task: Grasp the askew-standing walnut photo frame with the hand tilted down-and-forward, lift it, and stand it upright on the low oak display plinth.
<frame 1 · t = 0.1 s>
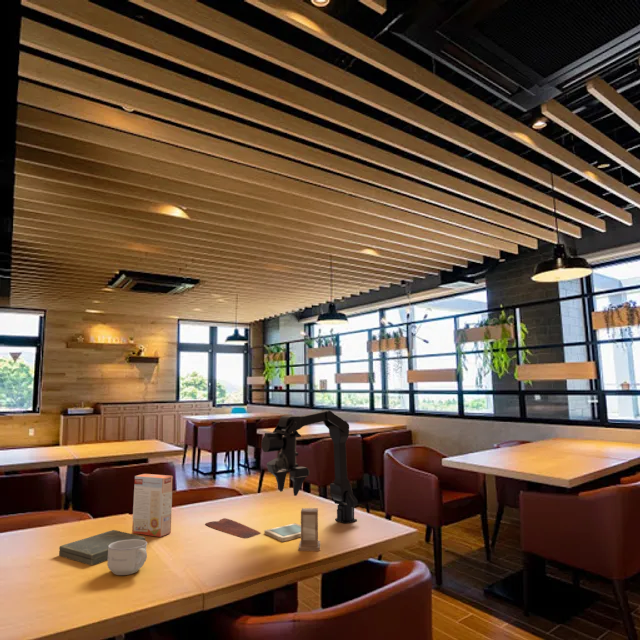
hand: (288, 493, 172), 15 cm above the table, tool pointing down, fingers open, 9 cm apart
wooden tablet: (233, 531, 178), on the table
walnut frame: (309, 547, 157), on the table
oak plinth: (289, 533, 172), on the table
cracker box: (151, 533, 174), on the table
teacup: (128, 573, 137), on the table
case: (103, 553, 156), on the table
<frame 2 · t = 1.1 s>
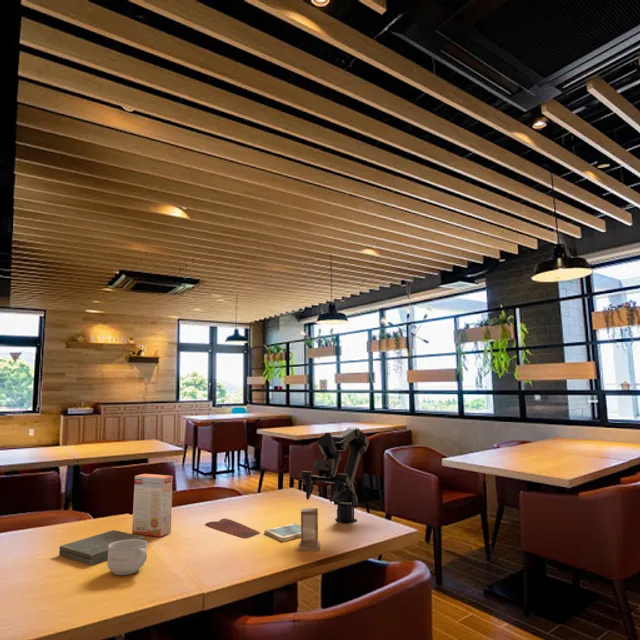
hand: (318, 500, 166), 13 cm above the table, tool tilted 45°, fingers open, 9 cm apart
nothing on the table moved.
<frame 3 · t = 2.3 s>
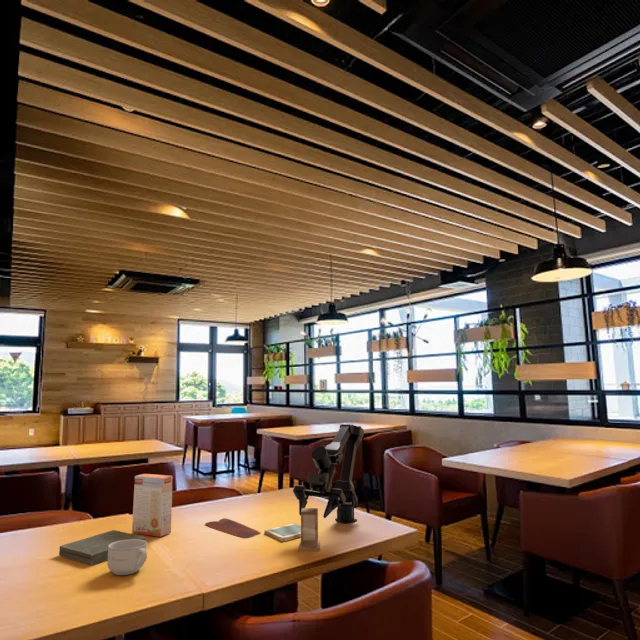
hand: (312, 516, 160), 9 cm above the table, tool tilted 45°, fingers open, 9 cm apart
nothing on the table moved.
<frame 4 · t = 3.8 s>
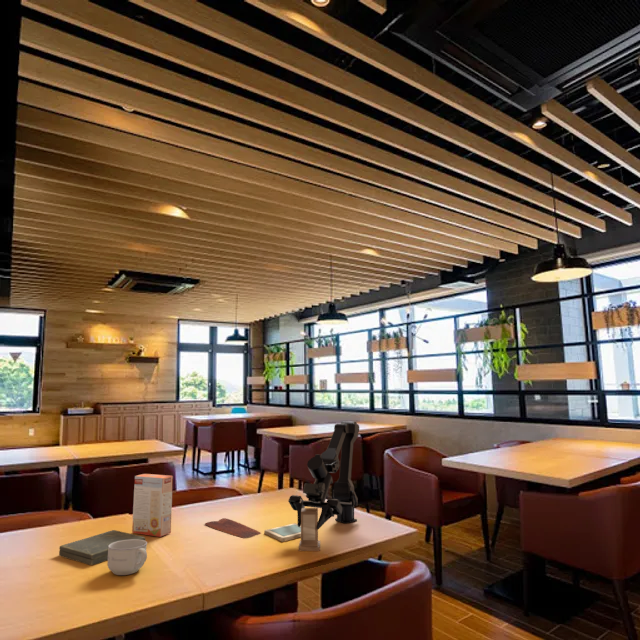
hand: (307, 527, 157), 7 cm above the table, tool tilted 45°, fingers closed on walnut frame, 7 cm apart
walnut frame: (309, 547, 157), on the table, touching gripper
everything else where it was.
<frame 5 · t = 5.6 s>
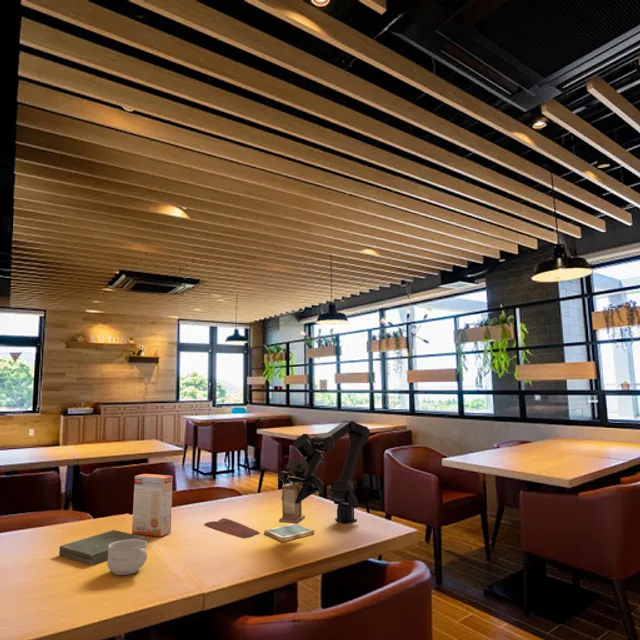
hand: (289, 501, 166), 13 cm above the table, tool tilted 45°, fingers closed on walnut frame, 7 cm apart
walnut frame: (292, 520, 166), point 7 cm above the table, touching gripper
everything else where it was.
when the fingers open (8 cm above the table, at t = 7.7 s): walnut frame stays where it is, resting on oak plinth.
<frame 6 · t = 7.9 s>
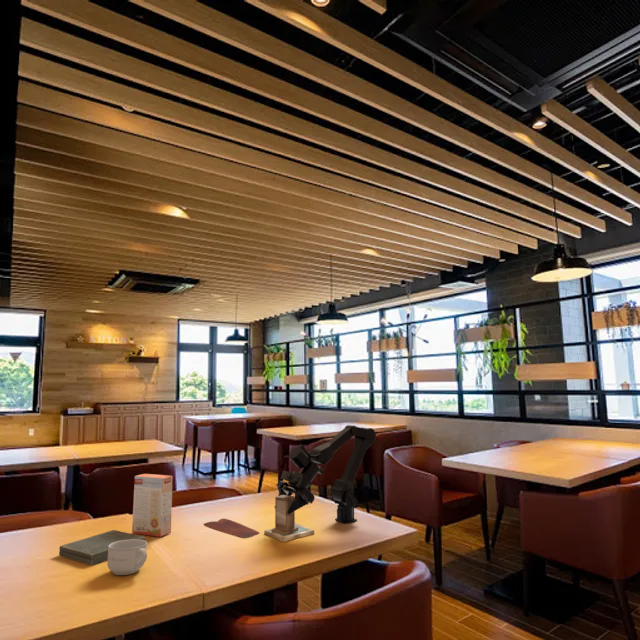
hand: (281, 510, 171), 9 cm above the table, tool tilted 45°, fingers open, 8 cm apart
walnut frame: (285, 530, 171), point 1 cm above the table, touching oak plinth
everything else where it was.
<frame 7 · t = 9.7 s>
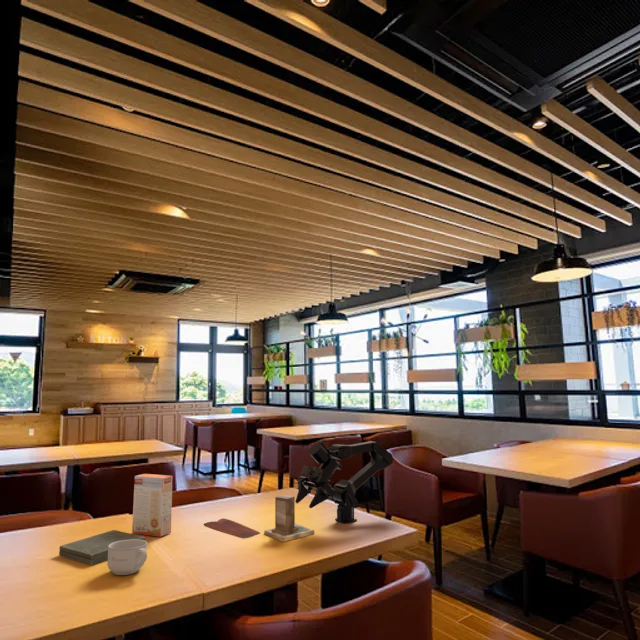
hand: (302, 505, 177), 9 cm above the table, tool tilted 45°, fingers open, 9 cm apart
nothing on the table moved.
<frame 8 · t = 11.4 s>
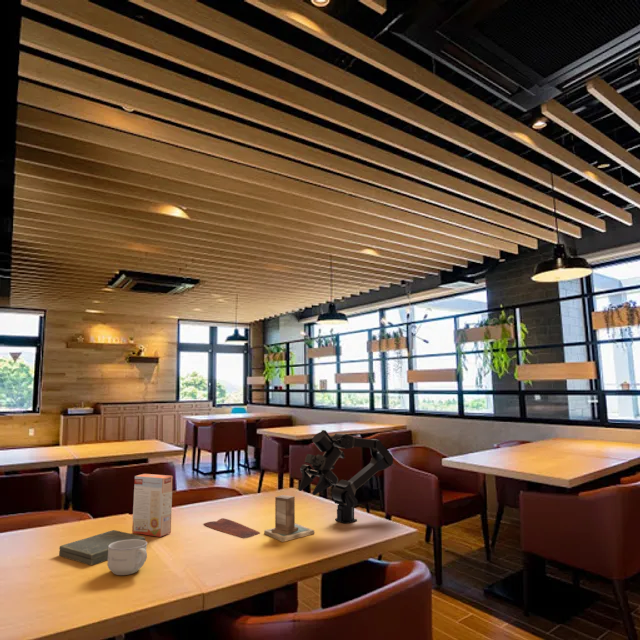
hand: (306, 492, 178), 14 cm above the table, tool tilted 45°, fingers open, 9 cm apart
nothing on the table moved.
at the end: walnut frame inside the target area on the oak plinth (1.9 cm from its centre), point 1.3 cm above the oak plinth's base; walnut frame tilted 0°; the gripper is holding nothing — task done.
